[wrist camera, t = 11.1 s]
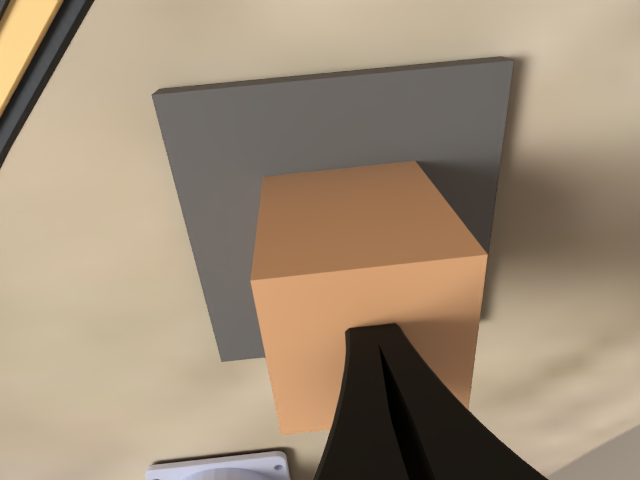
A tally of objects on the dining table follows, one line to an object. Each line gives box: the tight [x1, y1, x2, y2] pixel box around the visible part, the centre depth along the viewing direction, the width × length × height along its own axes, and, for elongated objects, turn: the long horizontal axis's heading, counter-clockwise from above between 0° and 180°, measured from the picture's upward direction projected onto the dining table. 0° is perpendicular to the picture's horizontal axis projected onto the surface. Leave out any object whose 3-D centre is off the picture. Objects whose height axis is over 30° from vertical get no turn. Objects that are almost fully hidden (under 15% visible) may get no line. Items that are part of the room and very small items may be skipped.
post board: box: [152, 57, 514, 362], centre depth 16 cm, size 12×12×6 cm
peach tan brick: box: [250, 161, 488, 435], centre depth 14 cm, size 6×6×7 cm
